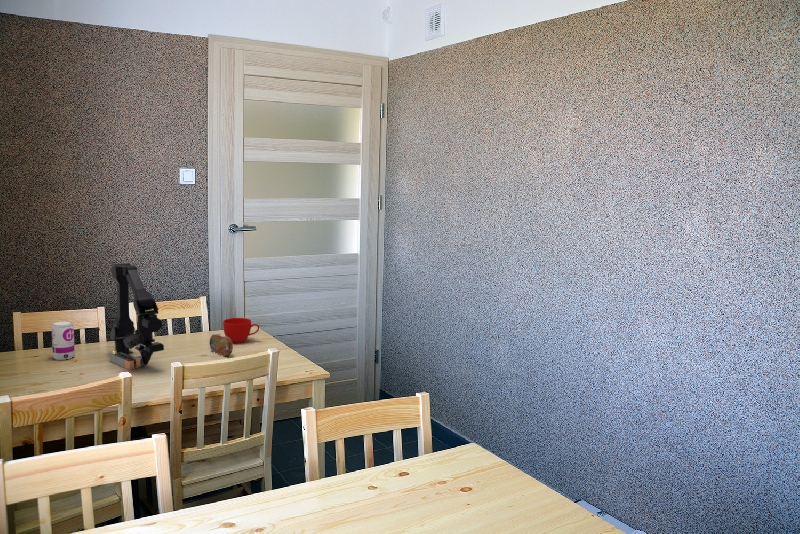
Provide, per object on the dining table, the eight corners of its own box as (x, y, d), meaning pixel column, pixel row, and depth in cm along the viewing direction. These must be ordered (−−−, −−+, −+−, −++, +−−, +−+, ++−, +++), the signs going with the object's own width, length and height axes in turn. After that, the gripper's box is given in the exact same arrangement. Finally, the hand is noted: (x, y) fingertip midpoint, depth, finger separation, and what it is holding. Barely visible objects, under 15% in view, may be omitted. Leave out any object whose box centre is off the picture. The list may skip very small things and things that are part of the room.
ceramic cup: (256, 345, 313) (256, 324, 312) (219, 344, 313) (219, 323, 312) (262, 338, 326) (262, 318, 325) (227, 337, 326) (227, 317, 325)
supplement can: (79, 357, 286) (77, 322, 284) (62, 361, 279) (60, 326, 276) (65, 354, 289) (64, 320, 287) (48, 358, 282) (47, 323, 280)
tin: (209, 351, 302) (208, 332, 301) (215, 349, 304) (215, 331, 303) (227, 358, 292) (227, 339, 291) (234, 357, 294) (234, 338, 293)
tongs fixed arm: (107, 360, 282) (107, 351, 282) (115, 359, 285) (114, 349, 284) (129, 370, 271) (129, 360, 270) (137, 368, 273) (137, 358, 273)
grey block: (134, 364, 278) (134, 357, 277) (141, 363, 280) (140, 355, 279) (139, 366, 275) (139, 359, 275) (146, 365, 277) (146, 357, 277)
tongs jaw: (117, 360, 282) (117, 352, 281) (121, 359, 283) (121, 352, 283) (136, 368, 273) (136, 359, 273) (140, 367, 274) (140, 359, 274)
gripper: (114, 326, 273) (115, 363, 275) (138, 334, 261) (139, 373, 264) (140, 322, 282) (140, 358, 284) (164, 329, 270) (165, 367, 272)
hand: (145, 364), depth 276 cm, fingers closed
